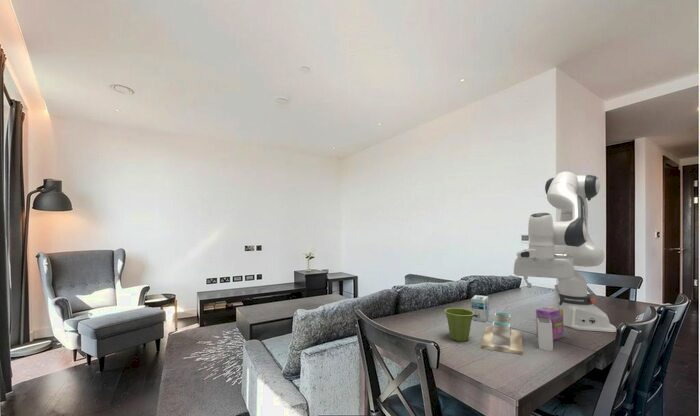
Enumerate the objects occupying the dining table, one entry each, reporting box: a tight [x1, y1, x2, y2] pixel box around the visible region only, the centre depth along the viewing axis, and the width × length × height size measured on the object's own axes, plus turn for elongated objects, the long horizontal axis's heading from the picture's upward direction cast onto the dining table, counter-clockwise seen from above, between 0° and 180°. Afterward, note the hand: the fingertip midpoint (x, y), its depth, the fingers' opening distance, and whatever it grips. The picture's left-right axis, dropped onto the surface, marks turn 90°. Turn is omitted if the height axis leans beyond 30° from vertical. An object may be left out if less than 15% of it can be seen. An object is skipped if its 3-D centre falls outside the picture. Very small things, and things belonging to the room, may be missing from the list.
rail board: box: [480, 311, 524, 356], centre depth 130 cm, size 14×26×9 cm, turn 153°
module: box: [536, 318, 554, 352], centre depth 123 cm, size 4×7×10 cm, turn 153°
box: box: [535, 305, 565, 341], centre depth 134 cm, size 10×6×12 cm, turn 118°
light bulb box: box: [470, 294, 490, 323], centre depth 162 cm, size 11×7×11 cm, turn 147°
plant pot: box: [444, 307, 474, 342], centre depth 132 cm, size 12×12×11 cm
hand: (542, 288), depth 124 cm, fingers open, 8 cm apart
